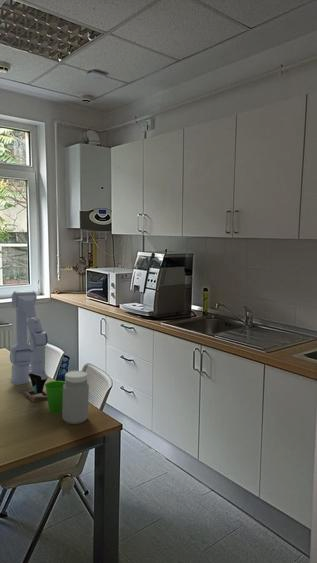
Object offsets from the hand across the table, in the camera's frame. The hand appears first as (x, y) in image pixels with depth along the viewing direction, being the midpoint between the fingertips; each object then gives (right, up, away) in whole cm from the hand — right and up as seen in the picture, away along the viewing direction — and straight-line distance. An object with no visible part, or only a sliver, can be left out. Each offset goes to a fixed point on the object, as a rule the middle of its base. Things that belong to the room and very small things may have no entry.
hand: (37, 391), depth 177 cm
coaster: (-7, -2, +5) cm, 9 cm away
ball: (0, -1, 0) cm, 1 cm away
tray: (0, -3, 0) cm, 3 cm away
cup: (+11, -5, -12) cm, 17 cm away
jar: (+20, -6, -19) cm, 28 cm away
